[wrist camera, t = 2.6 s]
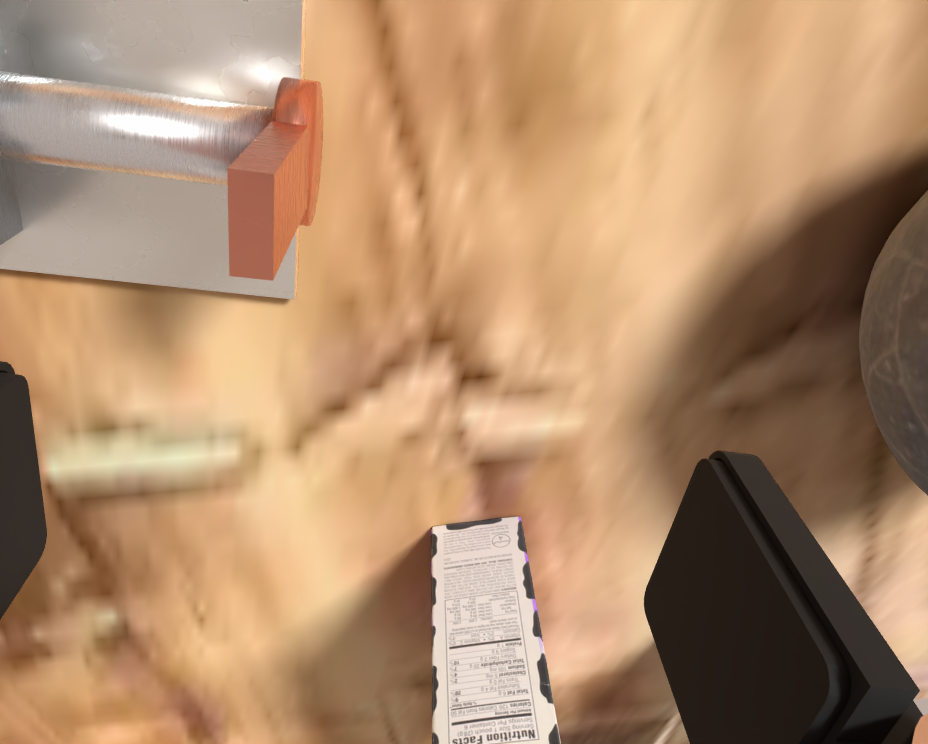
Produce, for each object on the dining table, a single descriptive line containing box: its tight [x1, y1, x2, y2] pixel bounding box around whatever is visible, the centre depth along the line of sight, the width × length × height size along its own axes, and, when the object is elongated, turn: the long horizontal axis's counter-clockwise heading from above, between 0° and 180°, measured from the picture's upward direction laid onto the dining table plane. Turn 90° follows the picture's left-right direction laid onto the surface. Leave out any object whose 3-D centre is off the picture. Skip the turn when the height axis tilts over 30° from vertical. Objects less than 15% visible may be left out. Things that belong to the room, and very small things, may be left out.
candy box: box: [431, 516, 561, 744], centre depth 40 cm, size 14×6×16 cm, turn 8°
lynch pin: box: [0, 71, 323, 281], centre depth 23 cm, size 16×5×11 cm, turn 82°
